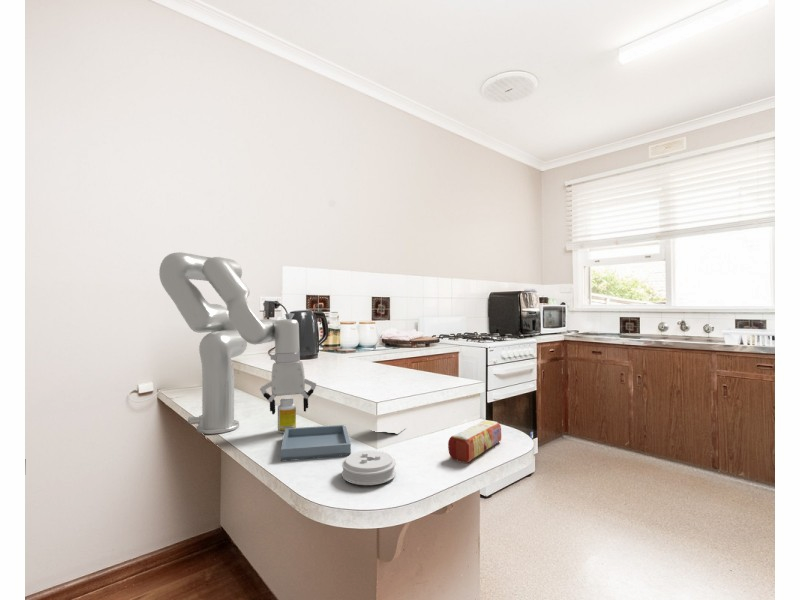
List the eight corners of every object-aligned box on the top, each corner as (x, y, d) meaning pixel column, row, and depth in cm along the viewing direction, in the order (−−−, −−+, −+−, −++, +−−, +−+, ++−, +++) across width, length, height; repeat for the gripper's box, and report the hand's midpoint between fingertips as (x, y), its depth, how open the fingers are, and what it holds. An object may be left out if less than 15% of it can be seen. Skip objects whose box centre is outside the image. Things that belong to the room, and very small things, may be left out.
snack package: (483, 438, 123) (482, 416, 123) (503, 443, 119) (503, 420, 119) (446, 460, 106) (446, 434, 106) (469, 466, 102) (469, 439, 102)
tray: (280, 461, 105) (280, 449, 105) (285, 438, 123) (285, 428, 123) (350, 455, 109) (350, 444, 109) (345, 434, 127) (345, 424, 127)
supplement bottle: (298, 431, 129) (298, 399, 129) (282, 435, 126) (282, 402, 126) (291, 427, 134) (291, 396, 134) (274, 431, 130) (274, 398, 130)
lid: (406, 480, 94) (406, 459, 94) (357, 494, 87) (357, 471, 87) (378, 462, 105) (378, 443, 105) (333, 473, 98) (333, 452, 98)
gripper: (257, 361, 124) (259, 417, 124) (315, 357, 128) (317, 412, 128) (260, 358, 132) (262, 411, 131) (315, 355, 135) (317, 406, 135)
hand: (289, 411), depth 130 cm, fingers open, 9 cm apart
